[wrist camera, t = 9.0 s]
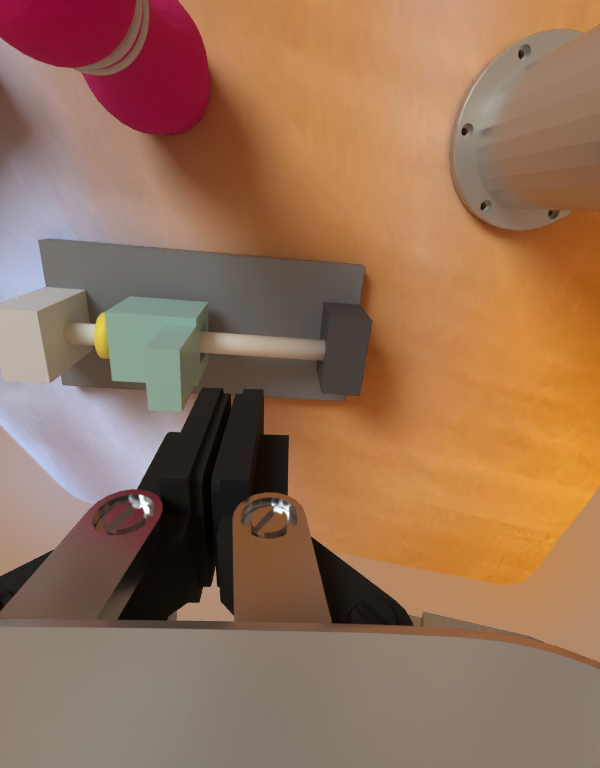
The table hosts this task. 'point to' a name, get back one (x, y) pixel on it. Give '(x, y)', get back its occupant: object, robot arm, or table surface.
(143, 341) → the sage stepped block
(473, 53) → the table surface
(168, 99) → the pepper mill
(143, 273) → the slider rail fixture
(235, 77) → the table surface
